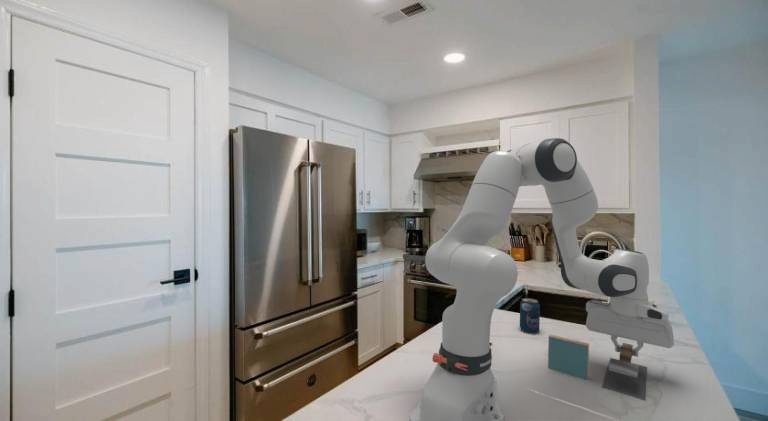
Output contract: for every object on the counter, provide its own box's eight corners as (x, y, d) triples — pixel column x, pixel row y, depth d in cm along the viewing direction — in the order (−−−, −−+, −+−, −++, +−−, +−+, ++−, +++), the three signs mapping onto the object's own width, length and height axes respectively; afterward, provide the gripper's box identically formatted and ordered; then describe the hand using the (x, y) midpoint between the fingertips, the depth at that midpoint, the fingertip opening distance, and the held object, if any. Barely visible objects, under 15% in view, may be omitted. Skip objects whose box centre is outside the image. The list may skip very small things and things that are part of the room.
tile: (587, 381, 90) (588, 345, 90) (547, 369, 97) (548, 336, 96) (588, 379, 92) (589, 343, 91) (549, 367, 98) (549, 334, 98)
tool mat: (645, 402, 81) (645, 400, 81) (601, 389, 86) (601, 387, 86) (647, 369, 98) (647, 367, 98) (610, 359, 103) (610, 357, 103)
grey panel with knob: (637, 378, 83) (637, 368, 83) (608, 370, 87) (609, 361, 87) (640, 354, 97) (640, 346, 97) (615, 348, 101) (615, 341, 100)
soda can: (529, 335, 122) (530, 303, 122) (515, 329, 128) (516, 298, 128) (543, 333, 125) (544, 301, 124) (529, 326, 131) (529, 296, 131)
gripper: (584, 300, 99) (582, 346, 99) (675, 316, 86) (673, 369, 86) (587, 296, 104) (586, 340, 104) (674, 311, 91) (672, 360, 91)
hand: (626, 353), depth 95 cm, fingers closed on grey panel with knob, 2 cm apart
